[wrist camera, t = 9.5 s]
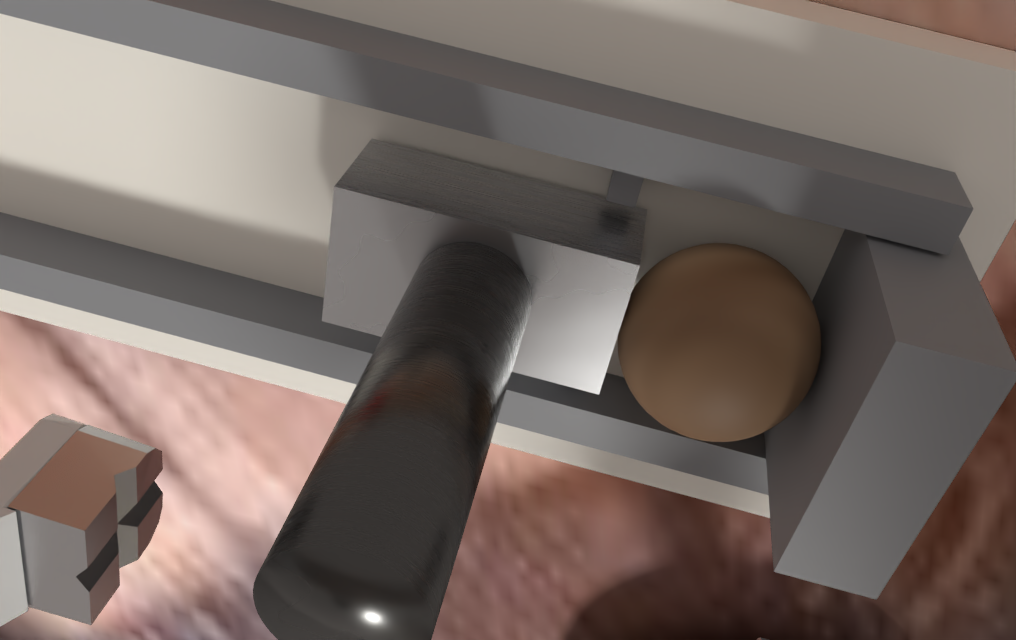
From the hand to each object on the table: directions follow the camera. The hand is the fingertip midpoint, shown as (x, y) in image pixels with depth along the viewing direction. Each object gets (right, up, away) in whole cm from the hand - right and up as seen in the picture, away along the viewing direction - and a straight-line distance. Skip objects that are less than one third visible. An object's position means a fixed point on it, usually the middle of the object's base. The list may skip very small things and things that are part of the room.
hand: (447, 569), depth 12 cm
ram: (+1, +5, +8) cm, 10 cm away
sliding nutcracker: (-2, +7, +10) cm, 12 cm away
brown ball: (+5, +4, +8) cm, 10 cm away
